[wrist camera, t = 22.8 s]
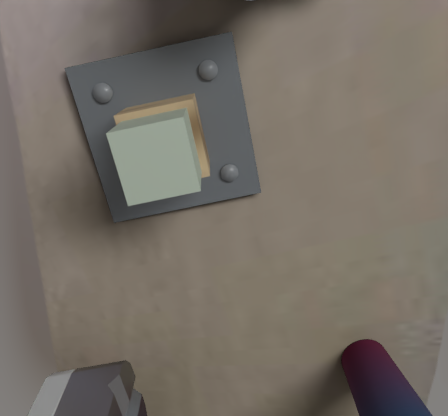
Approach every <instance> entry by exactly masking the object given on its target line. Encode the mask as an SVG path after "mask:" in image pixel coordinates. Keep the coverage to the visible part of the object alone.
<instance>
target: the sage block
mask: <svg viewBox="0 0 448 416" xmlns="http://www.w3.org/2000/svg"><path fill="white" fill-rule="evenodd" d="M106 135H107V139H108V142H109V145H110V148H111V152H112V155H113V158H114V162H115V165H116V168H117V171H118V175H119V178H120V181H121V185H122V188H123V191H124V195H125V198H126V201H127V204H128V206H132V205H136V204H141V203H146V202H151V201H156V200H161V199H165V198H170V197H175V196H180V195H185V194H190V193H194V192H199V191H201V175H202V171H201V167H200V162H199V158H198V154H197V149H196V145H195V141H194V136H193V132H192V128H191V123H190V119H189V115H188V110H187V107H186V108H182V109H177V110H172V111H168V112H163V113H158V114H154V115H149V116H144V117H140V118H135V119H130V120H126V121H121V122H120V123H119V124H117V125H116V126H115V127H113V128H112V129H111V130H110V131H108V132H107V133H106Z"/></svg>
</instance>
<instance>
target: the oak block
mask: <svg viewBox="0 0 448 416" xmlns="http://www.w3.org/2000/svg"><path fill="white" fill-rule="evenodd" d="M186 107H187V110H188V115H189V119H190V123H191V128H192V132H193V136H194V141H195V145H196V149H197V154H198V158H199V162H200V167H201V171H202V175H201V178H203V177H208V176H210V160H209V155H208V151H207V146H206V142H205V137H204V133H203V128H202V124H201V119H200V115H199V110H198V106H197V101H196V97H195V93H193V94H188V95H183V96H179V97H174V98H169V99H165V100H160V101H156V102H151V103H146V104H142V105H137V106H132V107H128V108H125V109H123V110H122V111H120V112H119V113H117V114H116V115H114V119H115V123H116V125H117V124H119V123H120V122H121V121H126V120H130V119H135V118H140V117H144V116H149V115H154V114H158V113H163V112H168V111H172V110H177V109H182V108H186Z"/></svg>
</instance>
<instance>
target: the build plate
mask: <svg viewBox="0 0 448 416" xmlns="http://www.w3.org/2000/svg"><path fill="white" fill-rule="evenodd" d="M65 71H66V74H67V77H68V80H69V83H70V87H71V90H72V93H73V96H74V99H75V102H76V105H77V108H78V111H79V115H80V118H81V121H82V124H83V127H84V130H85V133H86V136H87V140H88V143H89V146H90V149H91V152H92V155H93V158H94V161H95V164H96V168H97V171H98V174H99V177H100V180H101V183H102V186H103V189H104V193H105V196H106V199H107V202H108V205H109V208H110V211H111V214H112V217H113V221H114V223H115V222H120V221H125V220H130V219H135V218H139V217H144V216H149V215H154V214H159V213H164V212H169V211H173V210H178V209H183V208H188V207H193V206H198V205H203V204H207V203H212V202H217V201H222V200H227V199H232V198H237V197H241V196H246V195H251V194H256V193H261V189H260V183H259V178H258V172H257V167H256V161H255V156H254V150H253V145H252V139H251V134H250V128H249V123H248V118H247V112H246V107H245V101H244V96H243V90H242V85H241V79H240V74H239V68H238V63H237V57H236V52H235V46H234V41H233V35H232V32H227V33H223V34H218V35H214V36H209V37H205V38H200V39H196V40H191V41H186V42H182V43H177V44H173V45H168V46H164V47H159V48H154V49H150V50H145V51H141V52H136V53H132V54H127V55H123V56H118V57H113V58H109V59H104V60H100V61H95V62H91V63H86V64H82V65H77V66H72V67H68V68H65ZM193 93H195V97H196V101H197V106H198V110H199V115H200V119H201V124H202V128H203V133H204V137H205V142H206V146H207V151H208V155H209V160H210V176H208V177H203V178H201V191H199V192H194V193H190V194H185V195H180V196H175V197H170V198H165V199H161V200H156V201H151V202H146V203H141V204H136V205H132V206H128V204H127V201H126V198H125V195H124V191H123V188H122V185H121V181H120V178H119V175H118V171H117V168H116V165H115V162H114V158H113V155H112V152H111V148H110V145H109V142H108V139H107V135H106V133H107V132H108V131H110V130H111V129H112V128H113V127H115V126H116V123H115V119H114V115H116V114H117V113H119V112H120V111H122V110H123V109H125V108H128V107H132V106H137V105H142V104H146V103H151V102H156V101H160V100H165V99H169V98H174V97H179V96H183V95H188V94H193Z"/></svg>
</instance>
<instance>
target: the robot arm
mask: <svg viewBox="0 0 448 416" xmlns="http://www.w3.org/2000/svg"><path fill="white" fill-rule="evenodd" d="M134 381H135V374H134V371H133V369H132V366H131V364H130V363H129V362H128V361H126V360H125V361H119V362H113V363H107V364H101V365H95V366H89V367H83V368H77V369H73V370H67V371H62V372H56V373H52V374H51V375H49V376H48V377H46V379H45V381H44V383H43V385H42V387H41V389H40V391H39V393H38V395H37V397H36V399H35V401H34V403H33V405H32V407H31V409H30V411H29V413H28V415H27V416H147V412H146V407H145V403H144V400H143V397H142V394H141V393H139V392H138V391H136V390H135V389H133V386H134Z"/></svg>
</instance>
